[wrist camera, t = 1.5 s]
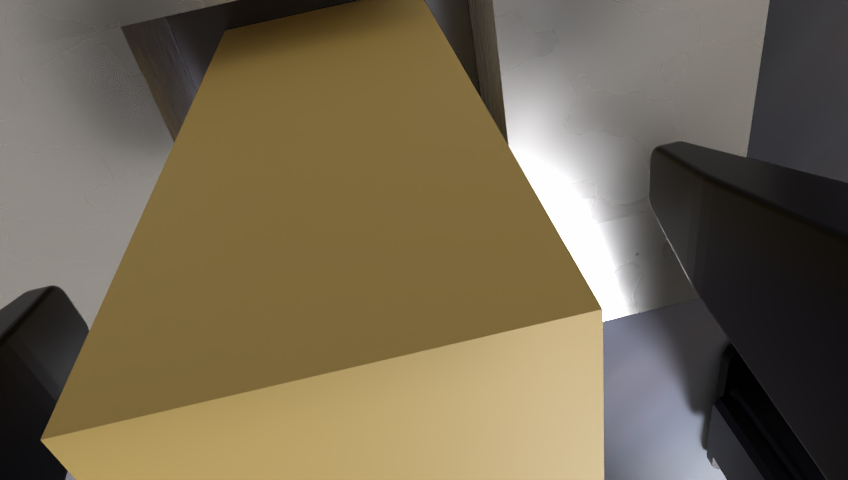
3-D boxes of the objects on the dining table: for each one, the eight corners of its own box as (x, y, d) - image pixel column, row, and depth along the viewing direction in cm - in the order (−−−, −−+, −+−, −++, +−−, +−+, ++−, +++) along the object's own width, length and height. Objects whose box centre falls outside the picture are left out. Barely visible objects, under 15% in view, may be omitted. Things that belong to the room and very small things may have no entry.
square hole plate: (724, -342, 10) (826, -382, 8) (677, 236, 17) (726, 292, 15) (-225, -132, 10) (-366, -119, 8) (118, 365, 17) (91, 440, 15)
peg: (416, -13, 12) (602, 310, 4) (447, 158, 15) (604, 579, 7) (224, 30, 12) (40, 439, 4) (285, 195, 15) (242, 665, 7)
